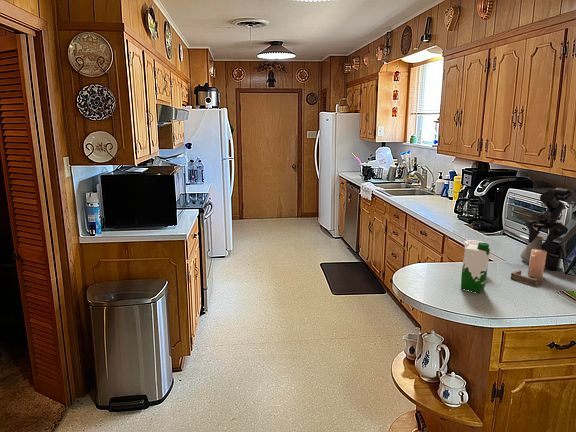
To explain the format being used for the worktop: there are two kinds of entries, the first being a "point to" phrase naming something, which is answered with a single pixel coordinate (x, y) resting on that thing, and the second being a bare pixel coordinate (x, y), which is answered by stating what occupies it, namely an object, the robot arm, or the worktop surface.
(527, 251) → the coffee pot
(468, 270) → the milk carton
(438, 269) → the worktop surface
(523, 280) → the jug cradle
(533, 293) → the worktop surface
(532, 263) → the jug
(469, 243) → the foam cup
